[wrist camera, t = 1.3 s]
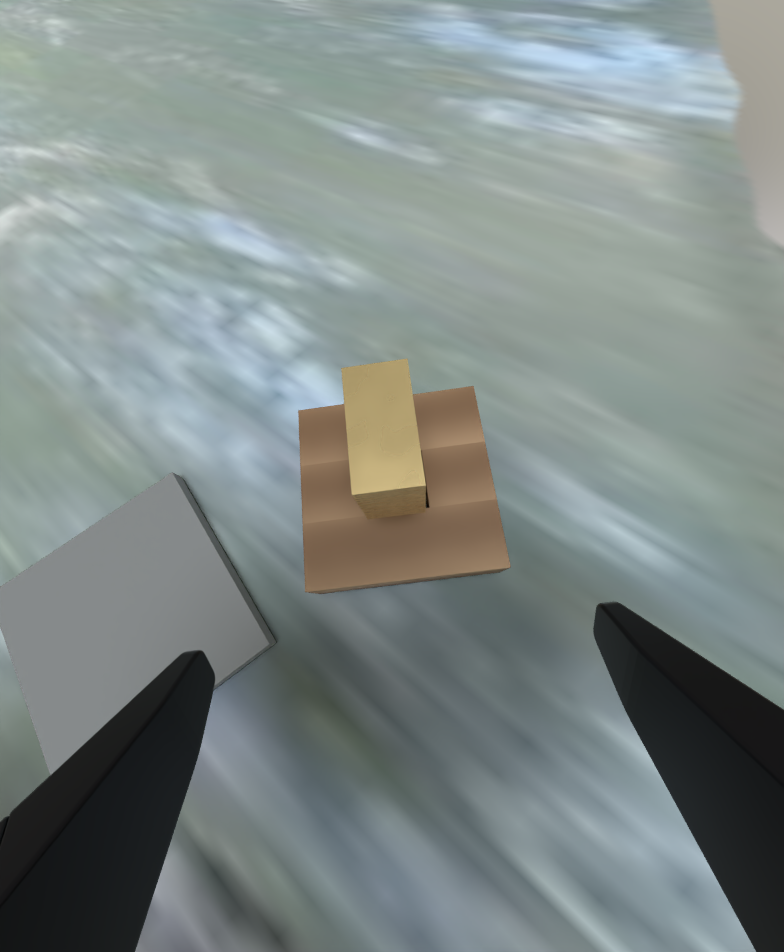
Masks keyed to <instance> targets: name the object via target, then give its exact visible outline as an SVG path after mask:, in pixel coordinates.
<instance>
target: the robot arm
mask: <svg viewBox="0 0 784 952" xmlns="http://www.w3.org/2000/svg"><path fill="white" fill-rule="evenodd" d="M593 632H594V637H595V640H596V643H597V645H598V648H599V650H600V652H601V655H602V657H603V659H604V662H605V664H606V666H607V669H608V671H609V674H610V676H611V678H612V681H613V683H614V685H615V688H616V690H617V692H618V695H619V697H620V700H621V702H622V704H623V706H624V708H625V711H626V713H627V715H628V716H629V718H630V720H631V722H632V724H633V726H634V728H635V730H636V731H637V733H638V735H639V737H640V739H641V741H642V743H643V744H644V746H645V748H646V750H647V752H648V754H649V755H650V757H651V759H652V761H653V763H654V765H655V766H656V768H657V770H658V772H659V774H660V776H661V777H662V779H663V781H664V783H665V785H666V787H667V789H668V790H669V792H670V794H671V796H672V798H673V800H674V801H675V803H676V805H677V807H678V809H679V811H680V812H681V814H682V816H683V818H684V820H685V822H686V823H687V825H688V827H689V829H690V831H691V833H692V835H693V836H694V838H695V840H696V842H697V844H698V846H699V847H700V849H701V851H702V853H703V855H704V857H705V858H706V860H707V862H708V864H709V866H710V868H711V869H712V871H713V873H714V875H715V877H716V879H717V880H718V882H719V884H720V886H721V888H722V890H723V892H724V893H725V895H726V897H727V899H728V901H729V903H730V904H731V906H732V908H733V910H734V912H735V914H736V915H737V917H738V919H739V921H740V923H741V925H742V926H743V928H744V930H745V932H746V934H747V936H748V938H749V939H750V941H751V943H752V945H753V947H754V949H755V950H756V952H784V709H782V708H781V707H779V706H777V705H776V704H774V703H773V702H771V701H770V700H768V699H767V698H765V697H764V696H762V695H761V694H759V693H757V692H756V691H754V690H753V689H751V688H750V687H748V686H747V685H745V684H744V683H742V682H741V681H739V680H737V679H736V678H734V677H733V676H731V675H730V674H728V673H727V672H725V671H724V670H722V669H721V668H719V667H717V666H716V665H714V664H713V663H711V662H710V661H708V660H707V659H705V658H704V657H702V656H701V655H699V654H698V653H696V652H694V651H693V650H691V649H690V648H688V647H687V646H685V645H684V644H682V643H681V642H679V641H678V640H676V639H674V638H673V637H671V636H670V635H668V634H667V633H665V632H664V631H662V630H661V629H659V628H658V627H656V626H654V625H653V624H651V623H650V622H648V621H647V620H645V619H644V618H642V617H641V616H639V615H638V614H636V613H634V612H633V611H631V610H630V609H628V608H627V607H625V606H624V605H622V604H620V603H618V602H606V603H600V604H598V605H597V607H596V613H595V620H594V628H593ZM214 685H215V673H214V670H213V668H212V666H211V665H210V663H209V661H208V659H207V657H206V655H205V653H204V652H203V651H202V650H193V651H186V652H183V653H182V654H180V655H179V656H178V657H177V658H176V659H175V660H174V661H173V662H172V663H171V664H169V665H168V666H167V667H166V668H165V669H164V670H163V671H162V672H161V673H160V674H159V675H158V676H157V677H155V678H154V679H153V680H152V681H151V682H150V683H149V684H148V685H147V686H146V687H145V688H144V689H143V690H141V691H140V692H139V693H138V694H137V695H136V696H135V697H134V698H133V699H132V700H131V701H130V702H129V703H128V704H126V705H125V706H124V707H123V708H122V709H121V710H120V711H119V712H118V713H117V714H116V715H115V716H114V717H112V718H111V719H110V720H109V721H108V722H107V723H106V724H105V725H104V726H103V727H102V728H101V729H100V730H99V731H97V732H96V733H95V734H94V735H93V736H92V737H91V738H90V739H89V740H88V741H87V742H86V743H85V744H83V745H82V746H81V747H80V748H79V749H78V750H77V751H76V752H75V753H74V754H73V755H72V756H71V757H69V758H68V759H67V760H66V761H65V762H64V763H63V764H62V765H61V766H60V767H59V768H58V769H57V770H56V771H54V772H53V773H52V774H51V775H50V776H49V777H48V778H47V779H46V780H45V781H44V782H43V783H42V784H40V785H39V786H38V787H37V788H36V789H35V790H34V791H33V792H32V793H31V794H30V795H29V796H28V797H26V798H25V799H24V800H23V801H22V802H21V803H20V804H19V805H18V806H17V807H16V808H15V809H14V810H12V812H11V813H10V816H7V817H5V818H4V819H3V820H2V821H1V822H0V952H135V950H136V947H137V944H138V940H139V937H140V934H141V931H142V928H143V925H144V922H145V919H146V916H147V913H148V910H149V907H150V904H151V900H152V897H153V894H154V891H155V888H156V885H157V882H158V879H159V876H160V873H161V870H162V867H163V864H164V860H165V857H166V854H167V851H168V848H169V845H170V842H171V839H172V836H173V833H174V830H175V827H176V824H177V820H178V817H179V814H180V811H181V808H182V805H183V802H184V799H185V796H186V793H187V790H188V787H189V783H190V780H191V777H192V774H193V771H194V768H195V765H196V761H197V758H198V755H199V751H200V747H201V743H202V739H203V734H204V730H205V725H206V721H207V716H208V712H209V708H210V703H211V699H212V694H213V690H214Z"/></svg>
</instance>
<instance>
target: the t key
mask: <svg viewBox="0 0 784 952" xmlns="http://www.w3.org/2000/svg"><path fill="white" fill-rule="evenodd" d="M341 369H342V381H343V393H344V405H345V418H346V430H347V442H348V455H349V467H350V479H351V491H352V496H353V498H354V499H355V501H356V502H357V504H358V505H359V507H360V508H361V510H362V511H363V513H364V514H365V516H366V517H367V519H368V520H370V519H378V518H386V517H394V516H401V515H409V514H417V513H425V512H426V483H425V476H424V469H423V463H422V456H421V449H420V442H419V435H418V428H417V422H416V415H415V408H414V401H413V394H412V387H411V381H410V374H409V367H408V360H407V359H402V360H395V361H388V362H381V363H374V364H367V365H360V366H353V367H346V368H341Z"/></svg>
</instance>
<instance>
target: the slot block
mask: <svg viewBox="0 0 784 952" xmlns="http://www.w3.org/2000/svg"><path fill="white" fill-rule="evenodd" d="M413 401H414V408H415V415H416V422H417V428H418V435H419V442H420V449H421V456H422V463H423V469H424V476H425V483H426V501H427V508H426V512H425V513H417V514H409V515H401V516H394V517H386V518H378V519H370V520H368V519H367V517H366V516H365V514H364V513H363V511H362V510H361V508H360V507H359V505H358V504H357V502H356V501H355V499H354V498H353V496H352V491H351V479H350V467H349V455H348V442H347V430H346V418H345V405H344V404H342V405H335V406H328V407H320V408H313V409H306V410H299V411H298V413H299V440H300V466H301V492H302V518H303V545H304V571H305V592H309V593H318V594H324V593H332V592H340V591H349V590H357V589H365V588H374V587H382V586H390V585H399V584H407V583H415V582H423V581H432V580H440V579H448V578H457V577H465V576H473V575H482V574H490V573H498V572H501V571H504V570H506V569H508V568H510V567H511V566H510V562H509V557H508V552H507V547H506V542H505V537H504V532H503V528H502V523H501V518H500V513H499V508H498V503H497V498H496V493H495V489H494V484H493V479H492V474H491V469H490V464H489V459H488V455H487V450H486V445H485V440H484V435H483V430H482V425H481V420H480V416H479V411H478V406H477V401H476V396H475V391H474V386H471V387H464V388H456V389H449V390H442V391H435V392H428V393H421V394H413Z"/></svg>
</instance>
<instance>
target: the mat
mask: <svg viewBox="0 0 784 952" xmlns="http://www.w3.org/2000/svg"><path fill="white" fill-rule="evenodd" d="M0 627H1V630H2V633H3V636H4V639H5V642H6V645H7V648H8V651H9V654H10V657H11V660H12V663H13V666H14V669H15V672H16V675H17V678H18V681H19V684H20V687H21V690H22V693H23V696H24V699H25V701H26V704H27V707H28V710H29V713H30V716H31V719H32V722H33V725H34V728H35V731H36V734H37V737H38V740H39V743H40V746H41V749H42V752H43V755H44V758H45V761H46V764H47V767H48V770H49V773H50V775H51V774H52V773H53V772H54V771H56V770H57V769H58V768H59V767H60V766H61V765H62V764H63V763H64V762H65V761H66V760H67V759H68V758H69V757H71V756H72V755H73V754H74V753H75V752H76V751H77V750H78V749H79V748H80V747H81V746H82V745H83V744H85V743H86V742H87V741H88V740H89V739H90V738H91V737H92V736H93V735H94V734H95V733H96V732H97V731H99V730H100V729H101V728H102V727H103V726H104V725H105V724H106V723H107V722H108V721H109V720H110V719H111V718H112V717H114V716H115V715H116V714H117V713H118V712H119V711H120V710H121V709H122V708H123V707H124V706H125V705H126V704H128V703H129V702H130V701H131V700H132V699H133V698H134V697H135V696H136V695H137V694H138V693H139V692H140V691H141V690H143V689H144V688H145V687H146V686H147V685H148V684H149V683H150V682H151V681H152V680H153V679H154V678H155V677H157V676H158V675H159V674H160V673H161V672H162V671H163V670H164V669H165V668H166V667H167V666H168V665H169V664H171V663H172V662H173V661H174V660H175V659H176V658H177V657H178V656H179V655H180V654H182V653H183V652H186V651H193V650H202V651H203V652H204V653H205V655H206V657H207V659H208V661H209V663H210V665H211V666H212V668H213V670H214V673H215V685H214V690H215V689H216V688H217V687H218V686H220V685H221V684H222V683H224V682H225V681H226V680H228V679H229V678H230V677H232V676H233V675H234V674H236V673H237V672H238V671H240V670H241V669H242V668H244V667H245V666H246V665H247V664H249V663H250V662H251V661H253V660H254V659H255V658H257V657H258V656H259V655H261V654H262V653H263V652H265V651H266V650H267V649H269V648H270V647H271V646H273V645H274V644H275V643H276V641H275V639H274V637H273V636H272V634H271V632H270V630H269V629H268V627H267V625H266V623H265V622H264V620H263V618H262V617H261V615H260V613H259V611H258V610H257V608H256V606H255V604H254V603H253V601H252V599H251V597H250V596H249V594H248V592H247V590H246V589H245V587H244V585H243V583H242V582H241V580H240V578H239V576H238V575H237V573H236V571H235V569H234V568H233V566H232V564H231V562H230V561H229V559H228V557H227V556H226V554H225V552H224V550H223V549H222V547H221V545H220V543H219V542H218V540H217V538H216V536H215V535H214V533H213V531H212V529H211V528H210V526H209V524H208V522H207V521H206V519H205V517H204V515H203V514H202V512H201V510H200V508H199V507H198V505H197V503H196V502H195V500H194V498H193V496H192V495H191V493H190V491H189V489H188V488H187V486H186V484H185V482H184V481H183V479H182V477H180V476H178V475H176V474H174V473H170V474H169V475H167V476H166V477H164V478H163V479H161V480H160V481H158V482H157V483H155V484H154V485H152V486H151V487H149V488H148V489H146V490H145V491H143V492H142V493H140V494H139V495H137V496H136V497H134V498H133V499H131V500H130V501H128V502H127V503H125V504H124V505H122V506H121V507H119V508H118V509H116V510H115V511H113V512H112V513H110V514H109V515H107V516H106V517H104V518H103V519H101V520H100V521H98V522H97V523H95V524H94V525H92V526H91V527H89V528H88V529H86V530H85V531H83V532H82V533H80V534H79V535H77V536H76V537H74V538H73V539H71V540H70V541H68V542H67V543H65V544H64V545H62V546H61V547H59V548H58V549H56V550H55V551H53V552H52V553H50V554H49V555H47V556H46V557H44V558H43V559H41V560H40V561H38V562H37V563H35V564H34V565H32V566H31V567H29V568H28V569H26V570H25V571H23V572H22V573H20V574H19V575H17V576H16V577H14V578H12V579H11V580H9V581H8V582H6V583H5V584H3V585H2V586H0Z"/></svg>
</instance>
